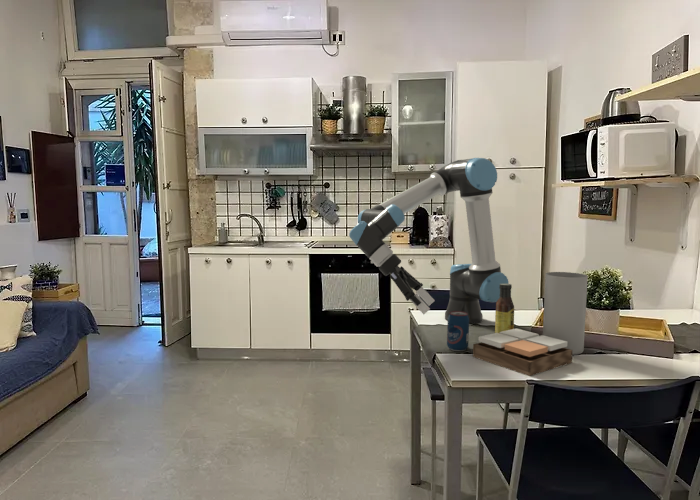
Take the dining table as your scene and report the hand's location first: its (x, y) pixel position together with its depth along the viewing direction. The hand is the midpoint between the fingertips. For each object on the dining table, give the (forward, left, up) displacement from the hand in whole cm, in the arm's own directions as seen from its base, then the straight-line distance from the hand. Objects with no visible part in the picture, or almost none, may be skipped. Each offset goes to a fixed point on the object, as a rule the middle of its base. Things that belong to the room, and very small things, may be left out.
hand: (429, 307), depth 165 cm
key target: (-9, +31, -8) cm, 33 cm away
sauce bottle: (-27, +9, -13) cm, 32 cm away
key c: (-19, +31, -8) cm, 37 cm away
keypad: (-14, +26, -13) cm, 32 cm away
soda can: (-6, +7, -13) cm, 16 cm away
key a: (-19, +21, -8) cm, 30 cm away
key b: (-9, +21, -8) cm, 24 cm away
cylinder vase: (-34, +27, -13) cm, 46 cm away
